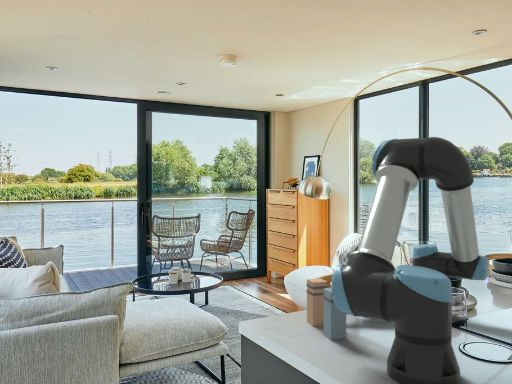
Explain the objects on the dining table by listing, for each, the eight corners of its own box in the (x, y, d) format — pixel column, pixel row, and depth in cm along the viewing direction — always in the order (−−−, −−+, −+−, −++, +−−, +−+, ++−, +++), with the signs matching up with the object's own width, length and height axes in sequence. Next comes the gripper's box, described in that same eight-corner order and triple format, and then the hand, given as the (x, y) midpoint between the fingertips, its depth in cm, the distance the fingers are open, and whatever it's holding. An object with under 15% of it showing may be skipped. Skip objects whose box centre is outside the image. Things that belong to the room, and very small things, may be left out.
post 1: (320, 320, 135) (320, 278, 135) (327, 324, 130) (327, 281, 130) (306, 321, 133) (306, 279, 133) (312, 326, 129) (312, 282, 129)
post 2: (338, 332, 123) (338, 287, 123) (346, 338, 119) (346, 291, 118) (323, 334, 122) (323, 288, 122) (330, 340, 117) (330, 292, 117)
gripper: (411, 312, 134) (341, 318, 127) (387, 301, 146) (323, 306, 140) (411, 287, 134) (341, 293, 127) (387, 278, 146) (323, 283, 140)
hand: (331, 300), depth 134 cm, fingers closed
